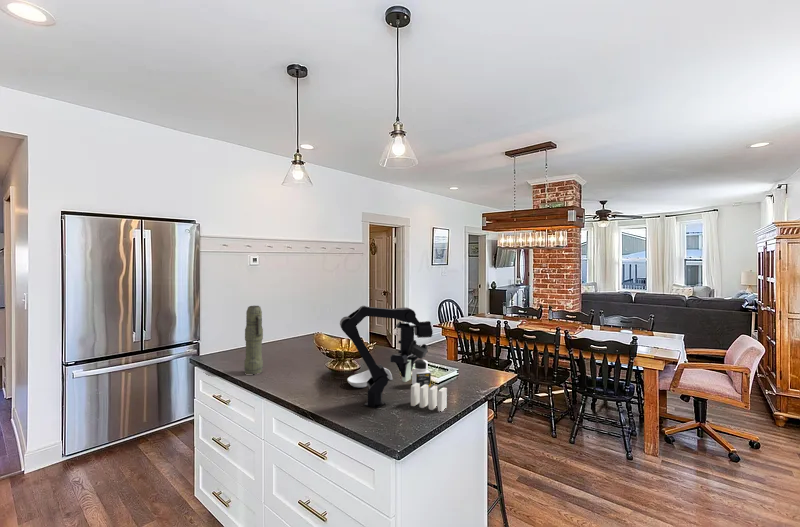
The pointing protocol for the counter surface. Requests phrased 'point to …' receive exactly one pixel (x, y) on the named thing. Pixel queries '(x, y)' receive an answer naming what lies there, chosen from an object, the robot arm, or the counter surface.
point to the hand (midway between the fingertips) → (406, 375)
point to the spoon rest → (364, 378)
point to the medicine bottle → (421, 373)
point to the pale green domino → (407, 372)
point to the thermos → (253, 340)
